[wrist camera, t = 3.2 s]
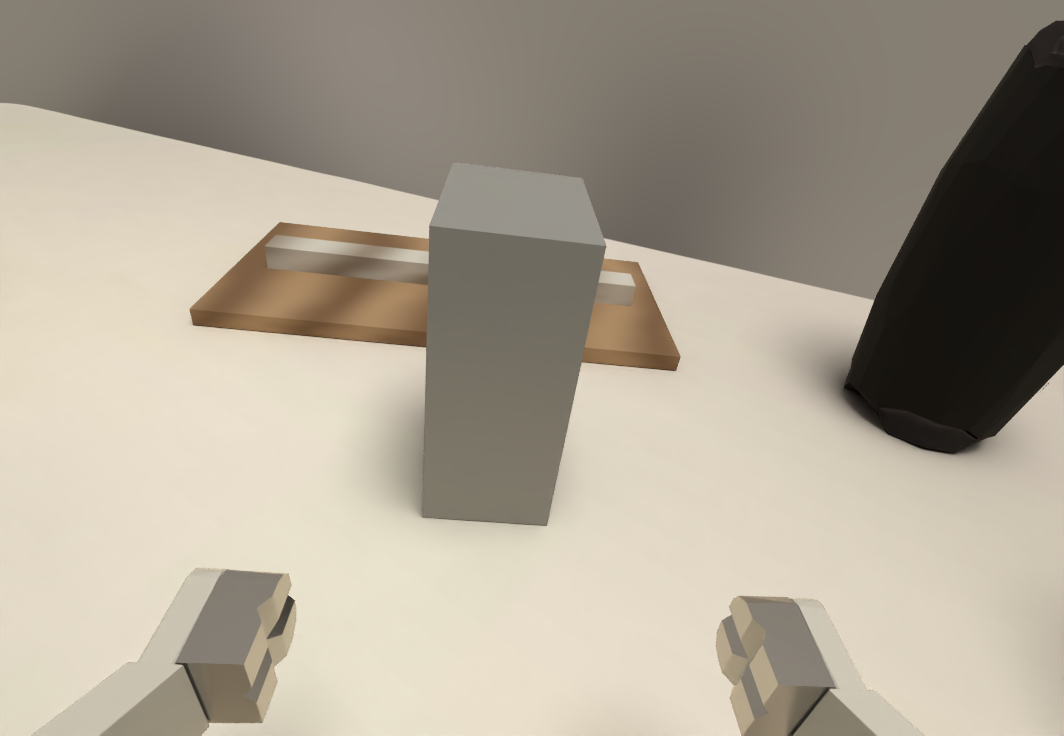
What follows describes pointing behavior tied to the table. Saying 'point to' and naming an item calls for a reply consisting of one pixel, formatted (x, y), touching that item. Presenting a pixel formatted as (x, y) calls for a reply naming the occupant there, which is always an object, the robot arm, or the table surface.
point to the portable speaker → (978, 272)
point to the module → (504, 339)
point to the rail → (401, 295)
